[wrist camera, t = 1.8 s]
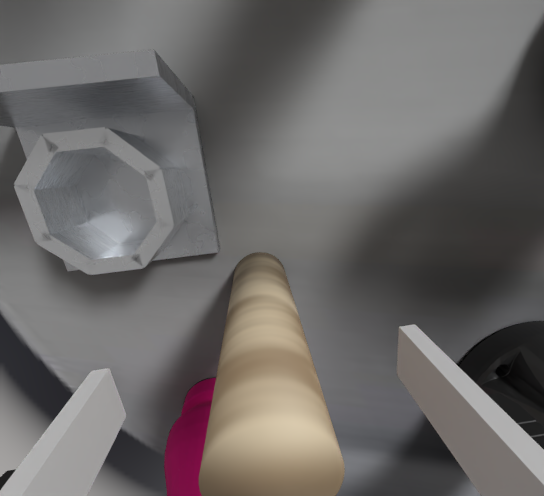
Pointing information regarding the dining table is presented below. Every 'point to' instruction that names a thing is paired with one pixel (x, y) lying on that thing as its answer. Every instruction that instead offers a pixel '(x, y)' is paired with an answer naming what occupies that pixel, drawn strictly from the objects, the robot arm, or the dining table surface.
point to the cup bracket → (109, 160)
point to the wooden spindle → (267, 398)
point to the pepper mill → (188, 441)
